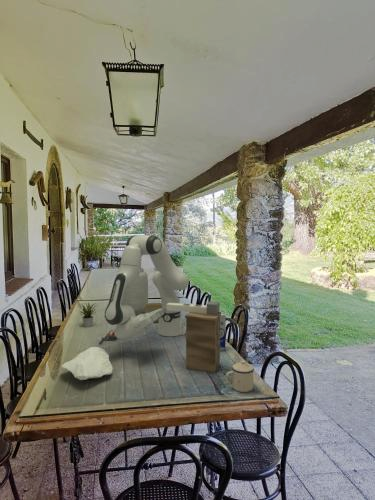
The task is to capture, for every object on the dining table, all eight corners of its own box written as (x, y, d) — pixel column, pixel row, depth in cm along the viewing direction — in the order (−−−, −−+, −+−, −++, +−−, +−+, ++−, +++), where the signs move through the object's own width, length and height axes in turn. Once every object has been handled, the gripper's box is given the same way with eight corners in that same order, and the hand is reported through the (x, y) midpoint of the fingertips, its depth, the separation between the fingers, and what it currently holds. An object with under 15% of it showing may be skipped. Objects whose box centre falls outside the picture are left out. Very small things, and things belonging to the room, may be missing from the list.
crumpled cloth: (50, 388, 153) (53, 367, 152) (70, 355, 187) (72, 338, 187) (107, 394, 155) (110, 373, 154) (116, 361, 190) (119, 344, 189)
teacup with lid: (250, 382, 162) (250, 356, 161) (256, 392, 153) (256, 364, 152) (223, 383, 160) (223, 357, 159) (228, 393, 151) (228, 366, 150)
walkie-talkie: (106, 334, 228) (97, 345, 208) (106, 327, 227) (97, 338, 207) (120, 334, 227) (113, 345, 207) (120, 327, 227) (113, 338, 207)
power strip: (169, 307, 188) (169, 298, 187) (219, 311, 180) (219, 302, 180) (165, 310, 182) (165, 300, 182) (216, 315, 174) (216, 304, 174)
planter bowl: (166, 324, 248) (166, 308, 247) (143, 323, 249) (142, 308, 248) (168, 317, 264) (168, 302, 263) (146, 317, 265) (146, 302, 264)
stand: (191, 359, 187) (192, 309, 184) (220, 363, 182) (221, 312, 180) (184, 369, 175) (184, 315, 173) (215, 373, 171) (216, 318, 168)
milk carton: (213, 351, 198) (213, 315, 196) (209, 347, 204) (209, 312, 202) (225, 350, 200) (226, 314, 198) (221, 346, 206) (221, 311, 204)
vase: (118, 311, 282) (117, 267, 279) (143, 308, 290) (143, 266, 287) (125, 317, 263) (124, 271, 260) (151, 314, 272) (151, 269, 269)
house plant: (104, 323, 250) (103, 299, 248) (97, 329, 236) (96, 304, 235) (83, 322, 251) (83, 299, 250) (75, 328, 238) (75, 304, 236)
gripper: (130, 323, 180) (152, 311, 176) (146, 312, 200) (167, 301, 195) (136, 334, 180) (158, 323, 176) (152, 322, 199) (173, 312, 195)
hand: (163, 311), depth 186 cm, fingers open, 8 cm apart
